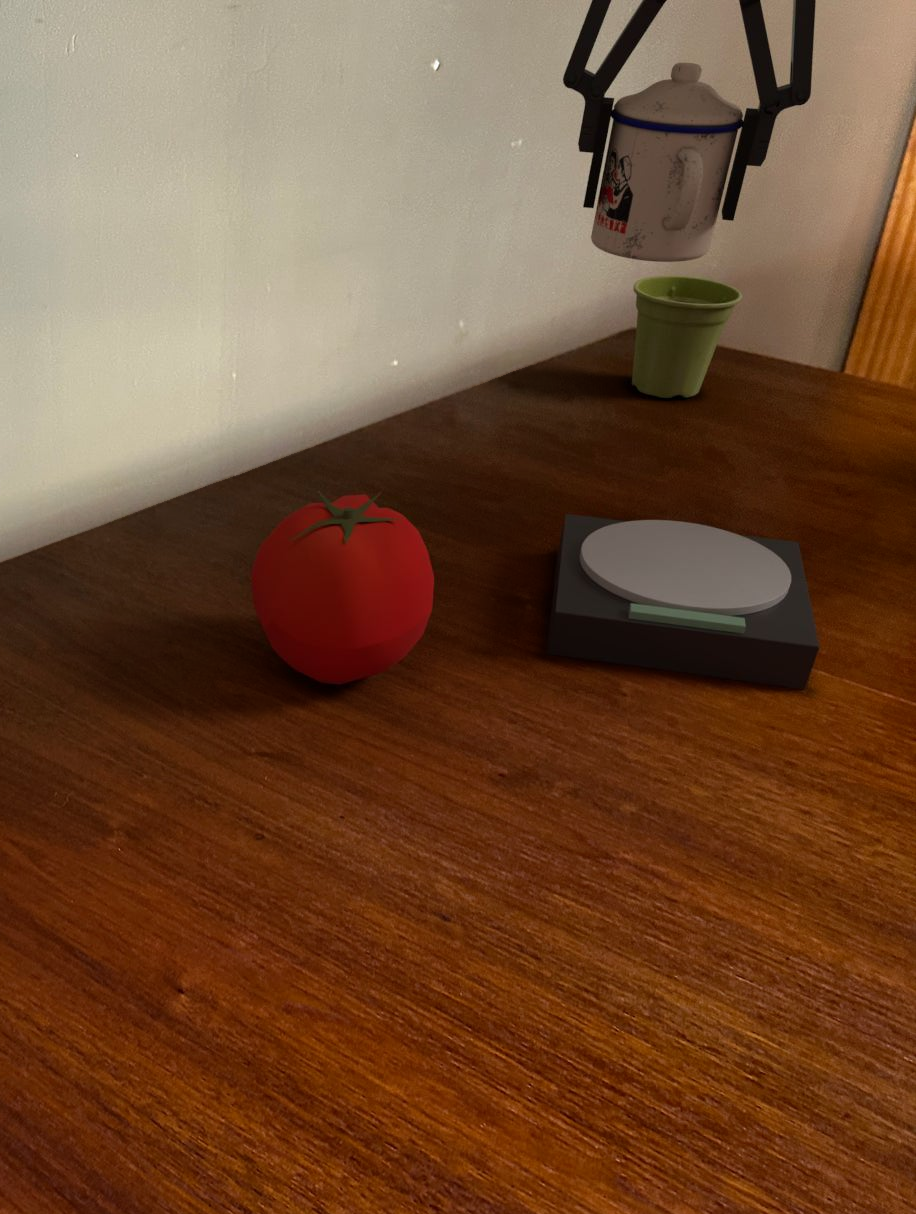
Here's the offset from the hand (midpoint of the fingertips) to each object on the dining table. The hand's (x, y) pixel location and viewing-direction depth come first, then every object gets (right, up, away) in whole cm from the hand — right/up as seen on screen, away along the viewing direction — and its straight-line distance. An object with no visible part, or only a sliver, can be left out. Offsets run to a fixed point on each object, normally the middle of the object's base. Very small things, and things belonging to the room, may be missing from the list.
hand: (657, 209), depth 103 cm
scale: (-1, -31, -7) cm, 32 cm away
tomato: (-25, -36, -13) cm, 45 cm away
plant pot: (+10, -1, +29) cm, 31 cm away
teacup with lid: (0, -2, +2) cm, 3 cm away
